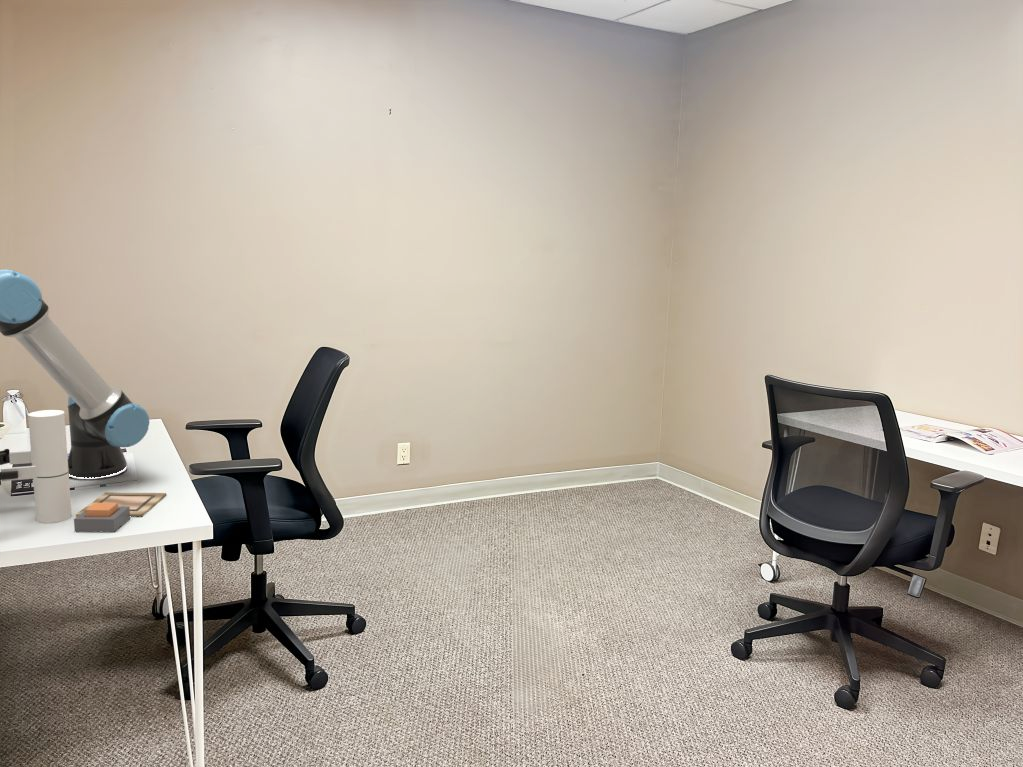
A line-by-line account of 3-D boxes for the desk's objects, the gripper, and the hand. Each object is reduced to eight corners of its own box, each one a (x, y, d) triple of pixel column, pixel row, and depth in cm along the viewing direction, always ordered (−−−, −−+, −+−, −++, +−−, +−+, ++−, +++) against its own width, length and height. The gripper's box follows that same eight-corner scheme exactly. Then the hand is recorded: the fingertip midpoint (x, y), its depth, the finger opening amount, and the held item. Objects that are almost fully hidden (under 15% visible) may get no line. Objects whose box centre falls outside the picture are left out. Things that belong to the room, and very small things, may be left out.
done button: (96, 514, 182) (95, 502, 181) (118, 515, 182) (117, 502, 181) (86, 522, 177) (85, 510, 176) (109, 522, 177) (108, 510, 177)
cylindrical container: (64, 510, 188) (56, 408, 184) (76, 517, 184) (69, 413, 179) (31, 517, 183) (23, 413, 178) (43, 525, 178) (35, 418, 174)
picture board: (105, 494, 200) (105, 491, 200) (166, 495, 201) (166, 492, 201) (76, 516, 184) (75, 513, 184) (141, 517, 186) (141, 513, 185)
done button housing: (92, 518, 184) (91, 506, 183) (130, 518, 184) (129, 506, 184) (74, 531, 175) (73, 519, 175) (114, 532, 176) (113, 519, 175)
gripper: (-61, 473, 182) (45, 464, 191) (-87, 507, 160) (34, 496, 169) (-64, 441, 181) (43, 434, 190) (-90, 472, 159) (32, 462, 168)
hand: (39, 463), depth 179 cm, fingers open, 13 cm apart
